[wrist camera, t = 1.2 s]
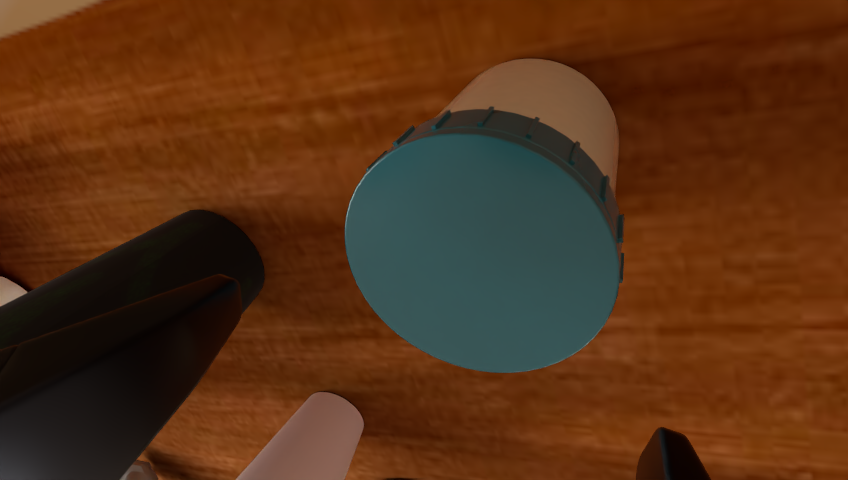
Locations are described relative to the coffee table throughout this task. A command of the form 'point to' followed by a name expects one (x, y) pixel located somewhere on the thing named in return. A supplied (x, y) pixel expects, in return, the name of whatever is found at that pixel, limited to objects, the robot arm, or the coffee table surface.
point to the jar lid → (487, 241)
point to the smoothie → (311, 443)
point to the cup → (137, 275)
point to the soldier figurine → (140, 472)
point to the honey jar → (549, 104)
